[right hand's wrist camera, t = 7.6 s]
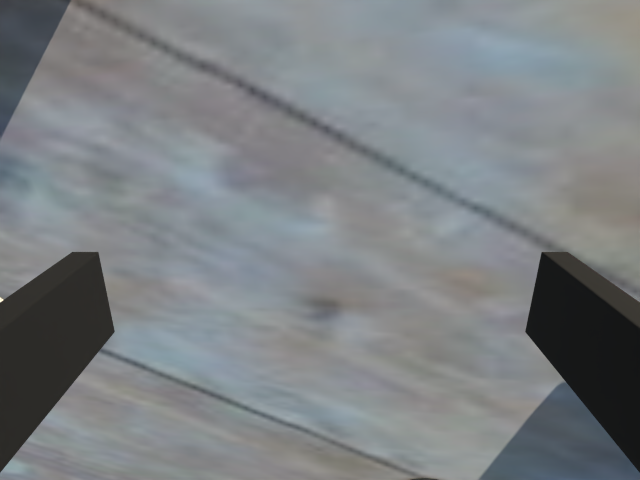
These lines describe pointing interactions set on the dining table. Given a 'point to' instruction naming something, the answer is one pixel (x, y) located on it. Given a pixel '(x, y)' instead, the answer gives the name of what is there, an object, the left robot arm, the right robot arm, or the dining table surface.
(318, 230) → the dining table surface
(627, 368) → the right robot arm
